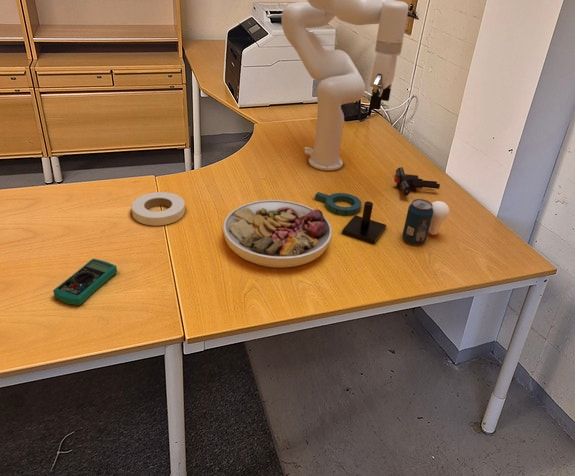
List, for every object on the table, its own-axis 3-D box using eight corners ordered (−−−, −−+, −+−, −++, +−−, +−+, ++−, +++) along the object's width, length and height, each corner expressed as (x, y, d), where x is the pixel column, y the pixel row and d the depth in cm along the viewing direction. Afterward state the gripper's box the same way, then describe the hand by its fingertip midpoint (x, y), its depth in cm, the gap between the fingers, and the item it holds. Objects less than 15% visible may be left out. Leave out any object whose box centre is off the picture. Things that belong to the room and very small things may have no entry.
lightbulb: (443, 231, 156) (452, 199, 150) (441, 242, 151) (450, 209, 145) (423, 227, 157) (431, 195, 151) (420, 237, 152) (428, 204, 146)
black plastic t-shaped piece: (435, 167, 184) (393, 163, 185) (445, 187, 167) (398, 182, 168) (432, 181, 186) (390, 177, 187) (441, 202, 169) (395, 197, 170)
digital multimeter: (52, 299, 120) (49, 289, 118) (94, 265, 131) (92, 255, 130) (78, 308, 118) (76, 299, 116) (118, 273, 129) (117, 263, 128)
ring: (365, 204, 167) (366, 199, 166) (352, 219, 158) (353, 214, 157) (323, 191, 172) (323, 186, 171) (308, 205, 164) (309, 200, 163)
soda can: (410, 230, 155) (418, 195, 149) (430, 240, 151) (439, 205, 145) (397, 238, 151) (404, 202, 144) (417, 249, 147) (426, 212, 140)
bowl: (249, 285, 129) (250, 259, 124) (207, 225, 150) (207, 201, 146) (350, 258, 141) (354, 234, 137) (298, 206, 163) (300, 184, 158)
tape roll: (121, 216, 151) (119, 208, 150) (154, 195, 163) (153, 187, 161) (164, 231, 146) (163, 223, 144) (195, 208, 158) (195, 200, 156)
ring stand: (341, 233, 151) (346, 205, 146) (354, 219, 159) (359, 191, 154) (374, 244, 148) (379, 216, 142) (385, 228, 155) (391, 201, 150)
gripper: (384, 40, 159) (375, 94, 168) (367, 50, 146) (358, 109, 155) (408, 43, 157) (398, 99, 166) (392, 55, 143) (382, 114, 153)
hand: (379, 104), depth 161 cm, fingers open, 9 cm apart
